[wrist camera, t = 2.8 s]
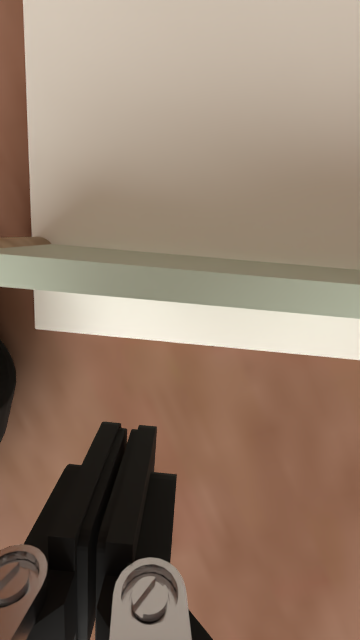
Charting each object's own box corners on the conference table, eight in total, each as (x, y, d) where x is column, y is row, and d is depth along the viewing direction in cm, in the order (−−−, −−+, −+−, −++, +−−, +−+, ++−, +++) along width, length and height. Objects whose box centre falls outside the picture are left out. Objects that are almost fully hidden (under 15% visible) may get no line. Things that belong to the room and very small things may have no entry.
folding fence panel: (405, 267, 15) (544, 290, 9) (396, 301, 16) (524, 347, 9) (22, 235, 16) (-93, 237, 10) (23, 268, 16) (-86, 291, 10)
